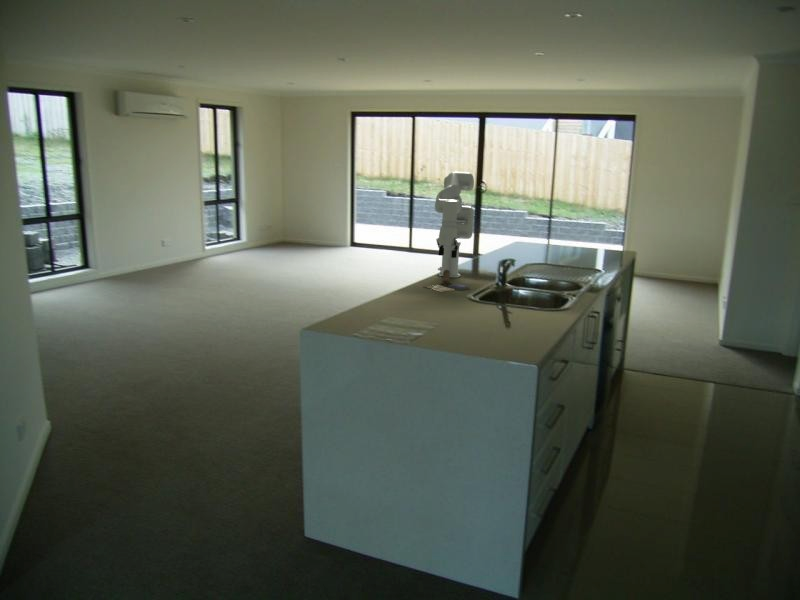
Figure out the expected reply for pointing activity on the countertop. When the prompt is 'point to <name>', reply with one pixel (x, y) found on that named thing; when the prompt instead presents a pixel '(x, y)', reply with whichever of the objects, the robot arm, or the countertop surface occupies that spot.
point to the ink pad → (459, 286)
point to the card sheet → (441, 288)
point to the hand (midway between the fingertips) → (447, 256)
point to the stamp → (446, 278)
